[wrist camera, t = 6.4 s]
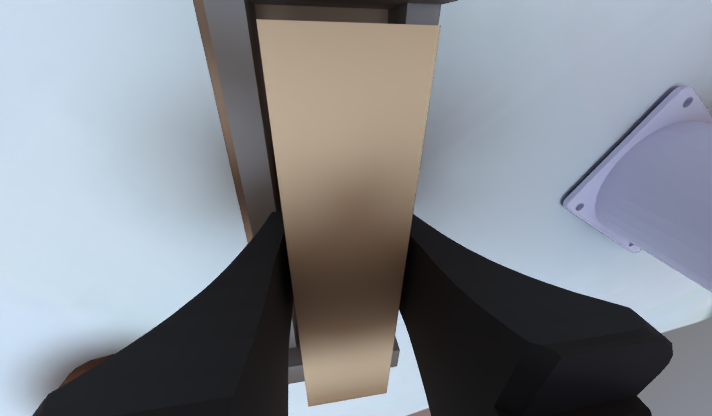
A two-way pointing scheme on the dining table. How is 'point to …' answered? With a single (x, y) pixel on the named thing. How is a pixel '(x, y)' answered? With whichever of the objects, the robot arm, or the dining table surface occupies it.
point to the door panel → (347, 185)
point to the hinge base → (249, 100)
